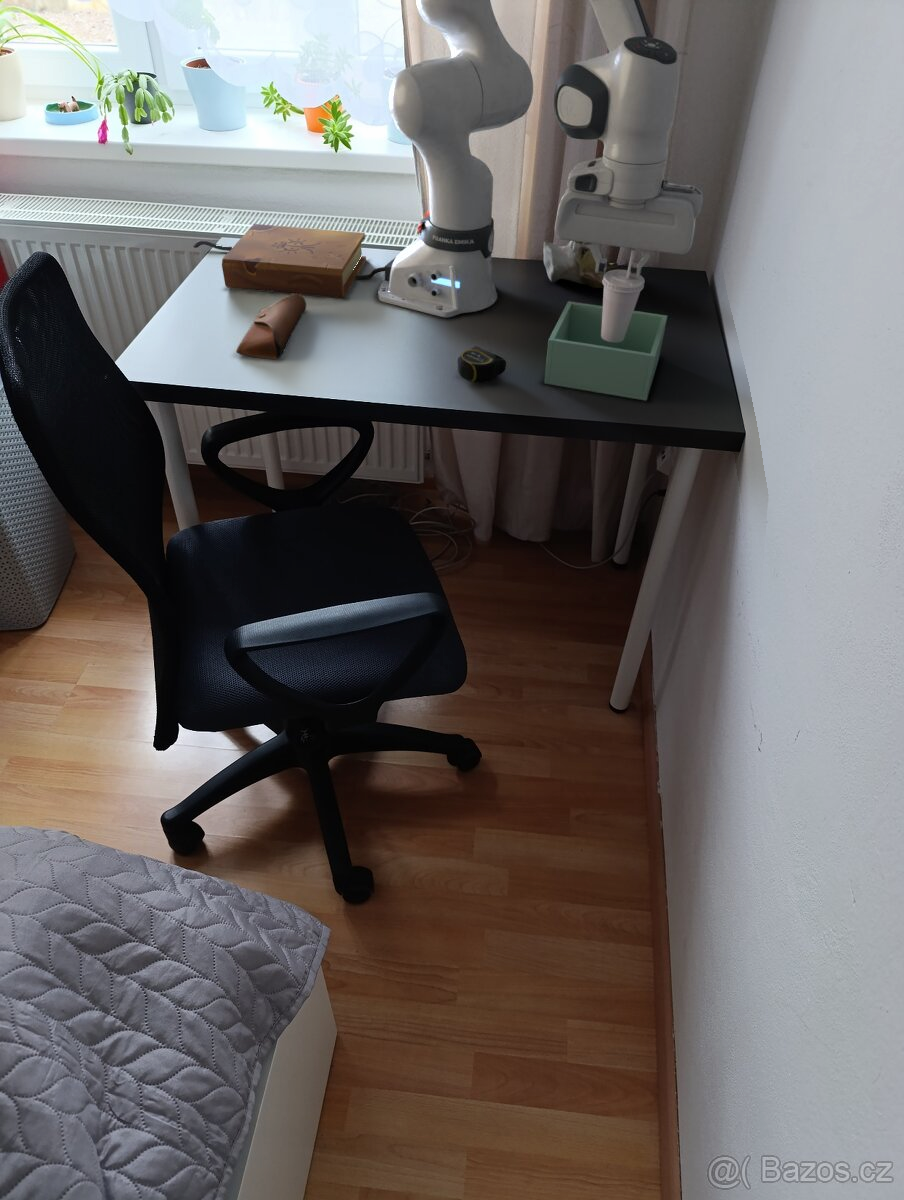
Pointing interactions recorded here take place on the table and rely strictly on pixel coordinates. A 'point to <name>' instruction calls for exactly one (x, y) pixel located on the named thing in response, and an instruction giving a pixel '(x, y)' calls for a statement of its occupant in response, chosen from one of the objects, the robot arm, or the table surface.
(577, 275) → the ceramic sculpture
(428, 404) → the table surface
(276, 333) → the sunglasses case
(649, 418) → the table surface
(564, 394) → the table surface
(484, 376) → the tape measure
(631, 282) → the smoothie
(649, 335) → the green open storage box
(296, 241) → the diary
